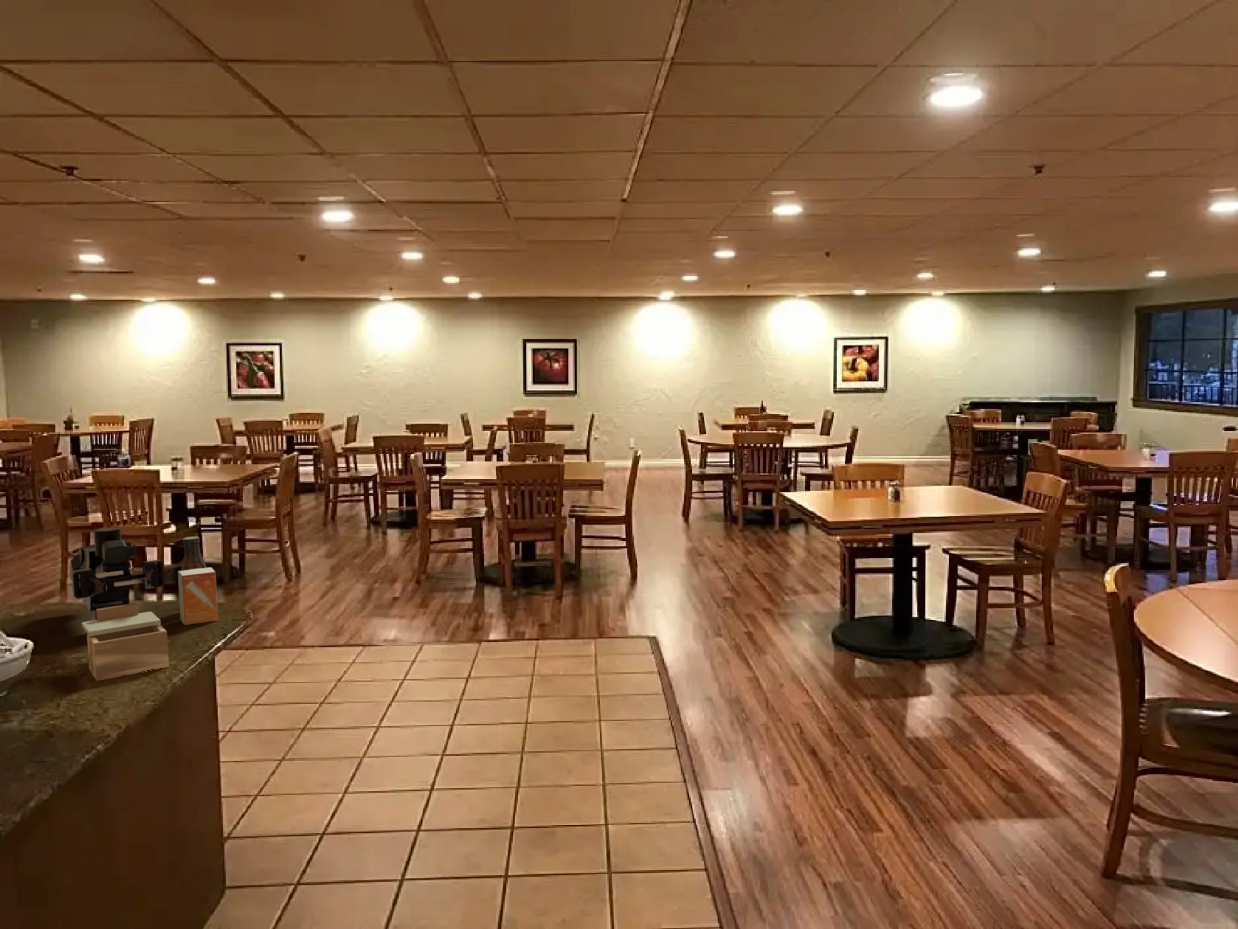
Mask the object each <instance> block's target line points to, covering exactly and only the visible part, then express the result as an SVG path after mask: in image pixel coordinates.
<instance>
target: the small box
mask: <svg viewBox="0 0 1238 929" xmlns="http://www.w3.org/2000/svg"><path fill="white" fill-rule="evenodd" d="M177 577H178V578H177V579H178V581H177V582H178V596H179V597H178V600H179V602H178V603H179V615H180V621H181V622H182V624H183V625H184V626H188V625H194V624H195V625H196V624H202V623H209V622H217V621H218V620H219V619H218V616H219V615H218V596H217V577H216V570H214V568H213V567H207V568H201V569H191V570H184V571H182V570H178V571H177Z"/></svg>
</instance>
